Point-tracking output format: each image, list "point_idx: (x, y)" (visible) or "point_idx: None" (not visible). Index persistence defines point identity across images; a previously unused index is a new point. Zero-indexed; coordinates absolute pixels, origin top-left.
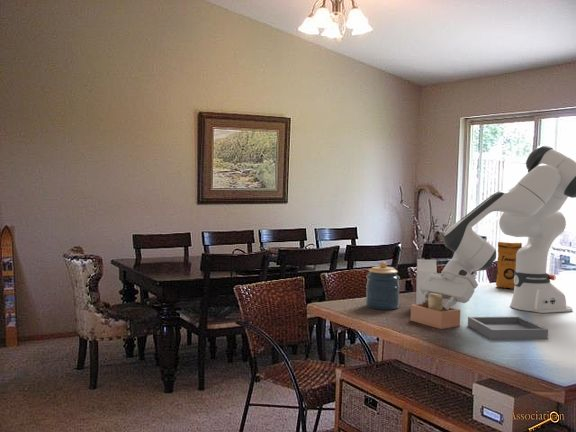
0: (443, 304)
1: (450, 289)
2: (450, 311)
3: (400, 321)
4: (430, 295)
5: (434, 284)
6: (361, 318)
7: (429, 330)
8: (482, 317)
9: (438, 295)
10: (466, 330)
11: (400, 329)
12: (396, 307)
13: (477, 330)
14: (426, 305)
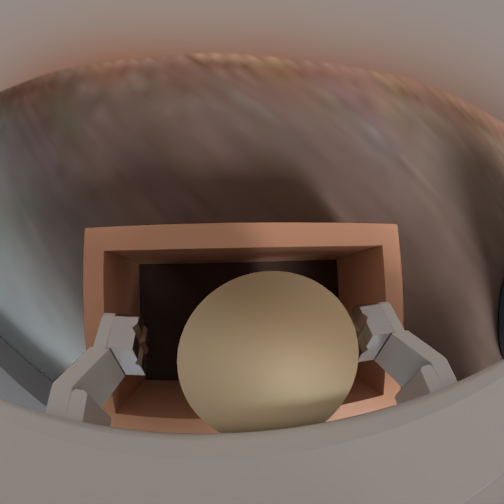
0: (133, 330)
1: (107, 501)
2: (85, 328)
3: (351, 184)
4: (274, 271)
5: (442, 482)
6: (425, 107)
7: (137, 174)
8: None
9: (182, 336)
10: (56, 340)
11: (224, 83)
12: (501, 339)
13: (29, 366)
14: (378, 364)
